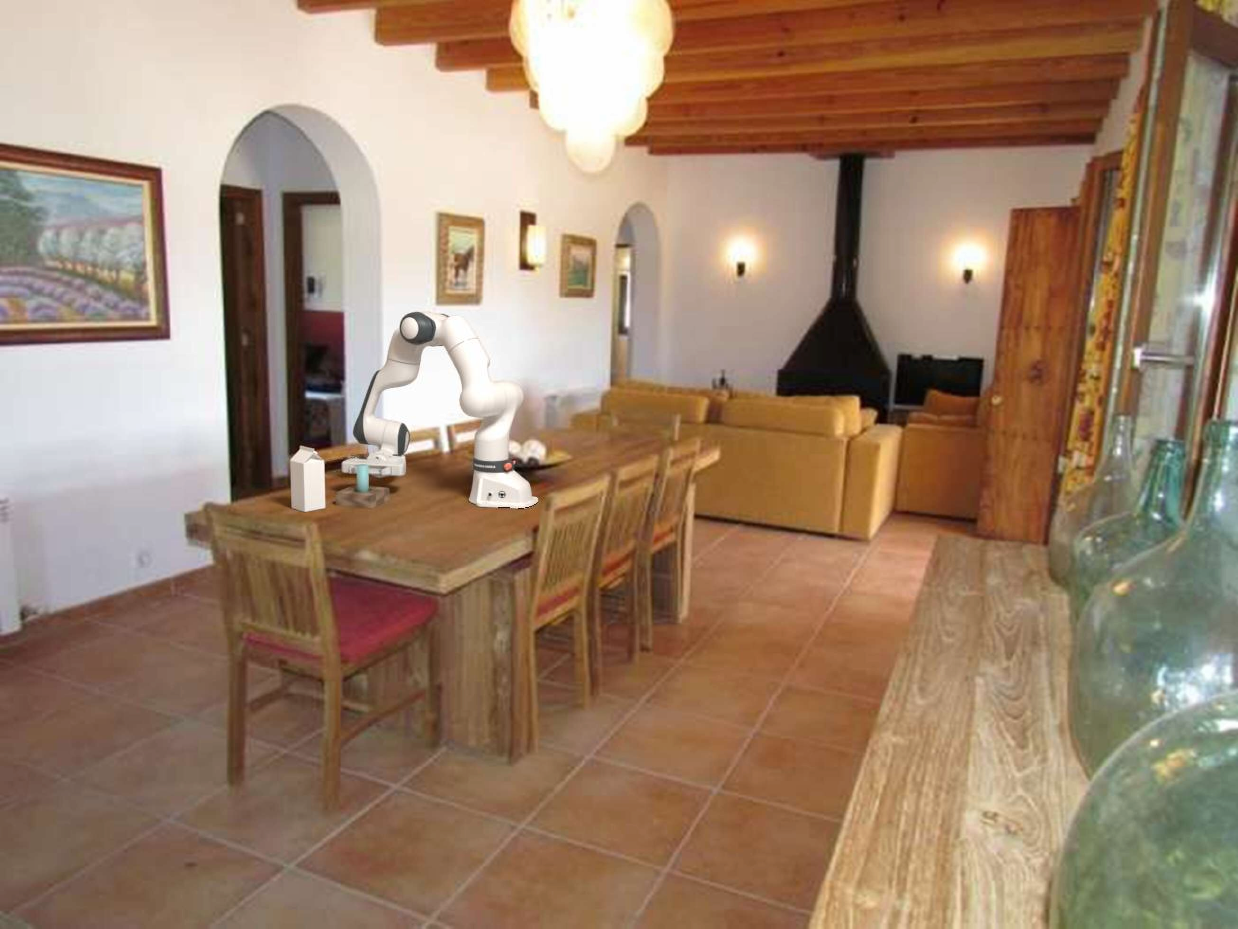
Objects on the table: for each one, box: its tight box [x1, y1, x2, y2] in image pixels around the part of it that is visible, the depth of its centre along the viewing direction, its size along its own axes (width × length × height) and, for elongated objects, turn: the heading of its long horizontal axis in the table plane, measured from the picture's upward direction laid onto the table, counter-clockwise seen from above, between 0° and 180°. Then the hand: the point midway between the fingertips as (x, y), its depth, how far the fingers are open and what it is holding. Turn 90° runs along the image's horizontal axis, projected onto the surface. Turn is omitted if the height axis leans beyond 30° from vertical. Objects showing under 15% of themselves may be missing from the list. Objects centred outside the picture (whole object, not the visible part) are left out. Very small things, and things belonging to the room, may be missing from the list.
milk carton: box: [289, 445, 326, 513], centre depth 264 cm, size 7×7×19 cm
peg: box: [356, 464, 370, 493], centre depth 275 cm, size 4×4×12 cm
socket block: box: [335, 484, 390, 509], centre depth 276 cm, size 12×12×4 cm
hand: (366, 472), depth 278 cm, fingers open, 8 cm apart
